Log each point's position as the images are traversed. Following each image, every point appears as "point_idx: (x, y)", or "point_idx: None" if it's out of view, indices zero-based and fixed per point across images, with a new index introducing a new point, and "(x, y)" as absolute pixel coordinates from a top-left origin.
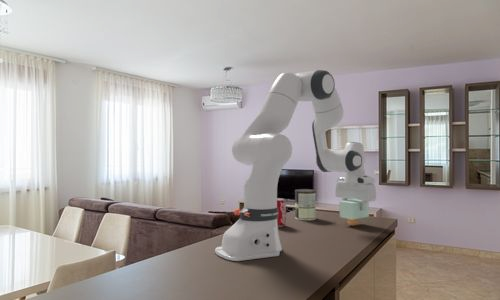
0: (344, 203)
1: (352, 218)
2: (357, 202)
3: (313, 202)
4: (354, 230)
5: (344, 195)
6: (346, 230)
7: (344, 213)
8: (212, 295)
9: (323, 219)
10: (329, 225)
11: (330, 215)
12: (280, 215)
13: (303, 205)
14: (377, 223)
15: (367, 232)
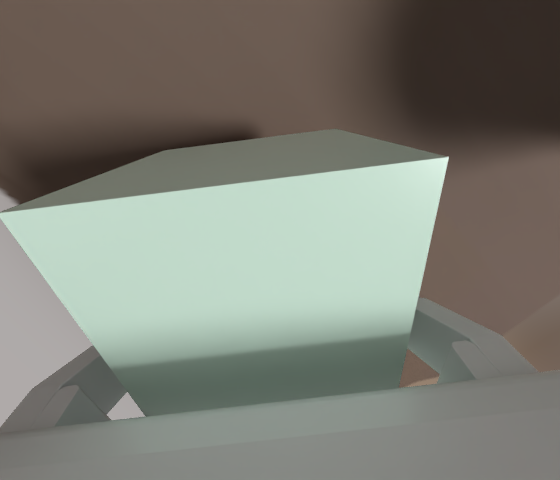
0: (268, 169)
1: (163, 151)
2: (103, 349)
3: None
4: (109, 86)
5: (522, 442)
6: (121, 6)
7: (273, 143)
8: None
9: (539, 160)
10: (366, 17)
11: (550, 283)
12: None
13: None
14: None
15: (24, 133)
